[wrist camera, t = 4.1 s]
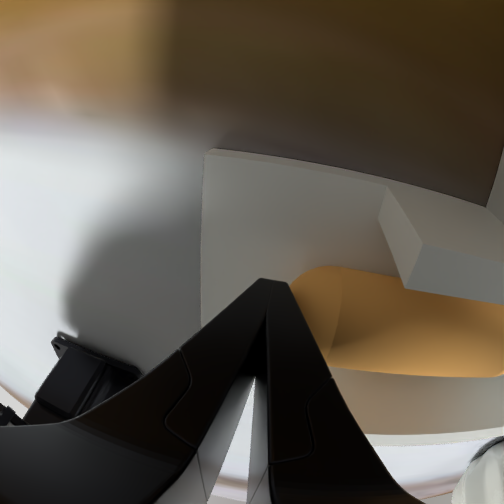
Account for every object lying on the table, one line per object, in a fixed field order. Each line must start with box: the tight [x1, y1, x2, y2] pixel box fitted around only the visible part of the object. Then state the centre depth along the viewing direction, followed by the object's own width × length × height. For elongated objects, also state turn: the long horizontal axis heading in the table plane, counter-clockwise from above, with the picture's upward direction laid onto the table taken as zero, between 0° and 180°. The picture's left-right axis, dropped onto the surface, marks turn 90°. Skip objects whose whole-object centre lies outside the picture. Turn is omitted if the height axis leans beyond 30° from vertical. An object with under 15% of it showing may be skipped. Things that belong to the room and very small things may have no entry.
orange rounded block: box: [289, 266, 504, 378], centre depth 8 cm, size 3×9×3 cm, turn 84°
